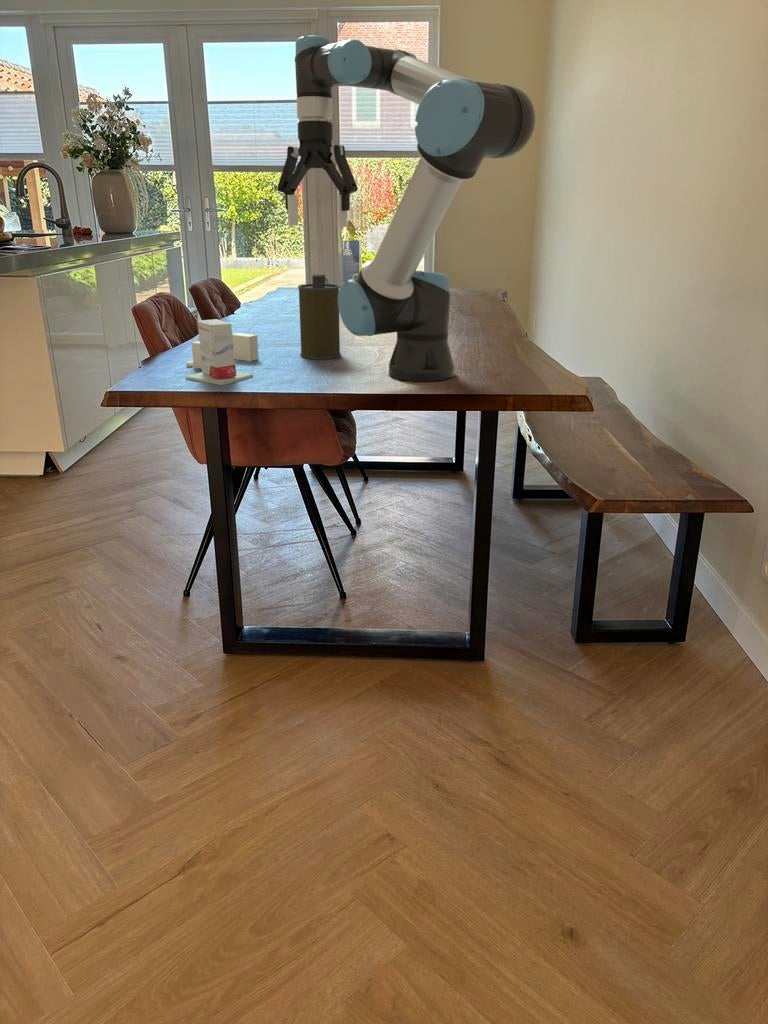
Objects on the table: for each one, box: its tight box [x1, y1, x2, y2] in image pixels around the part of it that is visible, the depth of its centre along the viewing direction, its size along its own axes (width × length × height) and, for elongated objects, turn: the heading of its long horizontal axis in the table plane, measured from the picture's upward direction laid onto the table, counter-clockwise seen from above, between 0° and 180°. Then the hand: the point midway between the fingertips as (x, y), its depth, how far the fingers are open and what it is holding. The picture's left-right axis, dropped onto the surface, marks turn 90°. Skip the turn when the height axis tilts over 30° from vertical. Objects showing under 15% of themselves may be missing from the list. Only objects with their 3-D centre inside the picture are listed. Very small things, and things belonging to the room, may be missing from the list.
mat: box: [185, 371, 254, 386], centre depth 172 cm, size 11×10×1 cm
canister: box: [297, 273, 342, 360], centre depth 193 cm, size 11×10×20 cm
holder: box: [185, 332, 259, 370], centre depth 186 cm, size 8×16×6 cm, turn 149°
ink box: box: [197, 318, 237, 379], centre depth 169 cm, size 9×5×12 cm, turn 34°
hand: (317, 226), depth 172 cm, fingers open, 13 cm apart
